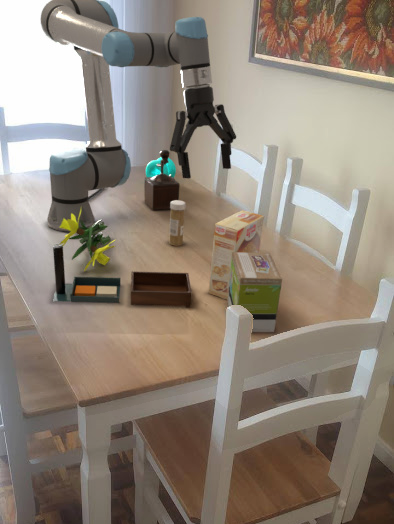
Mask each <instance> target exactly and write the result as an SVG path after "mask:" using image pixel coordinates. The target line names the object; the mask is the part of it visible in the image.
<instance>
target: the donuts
mask: <svg viewBox="0 0 394 524" xmlns="http://www.w3.org/2000/svg"><path fill="white" fill-rule="evenodd" d="M161 160H162V157H161V156H160V157H158V158H157V159H155V160H150V162H148V163H147V165H146V167H145V177H154V176H156V175H159V174H161V167H158V166H157V164H160V161H161ZM168 161H169V163H167V164H166V165H165V164H164V166H163V173H164V174H166V175H168V176H169V175H170V174H171V177H173V178H174V179H175V176H176V174H177V167H176V164H175V162H174V161H173V160H172V159H171V158H169V157H168Z"/></svg>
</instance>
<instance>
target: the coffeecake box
mask: <svg viewBox="0 0 394 524" xmlns="http://www.w3.org/2000/svg"><path fill="white" fill-rule="evenodd" d="M264 219H265V216H264V215H262V214H259V213H255V212H251V211H247V210H243V209H241V210H240V211H238V212H236V213H234V214H232V215H230V216H228V217H226V218H223V219H222V220H220V221H218V222H216V223H214V230H213V231H214V232H213V241H212V253H211V254H212V255H211V265H210V274H209V285H208V294H210V295H213V296H216V297H218V298H221V299H224V300H227V301H228V292H229V281H230V270H231V259H232V252H241V253H260V247H261V240H262V234H263V233H262V232H263V226H264Z"/></svg>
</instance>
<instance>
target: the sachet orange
mask: <svg viewBox="0 0 394 524" xmlns="http://www.w3.org/2000/svg"><path fill="white" fill-rule="evenodd" d="M95 291H96V286H76V289H75V296H95Z"/></svg>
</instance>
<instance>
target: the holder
mask: <svg viewBox="0 0 394 524" xmlns="http://www.w3.org/2000/svg"><path fill="white" fill-rule="evenodd" d="M130 273H131V274H130V275H131V276H130V306H164V307H185V308H191V307H192V293H193V292H192V288H191V280H190V274H189V272H171V271H170V272H169V271H167V272H165V271H131V272H130Z"/></svg>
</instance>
